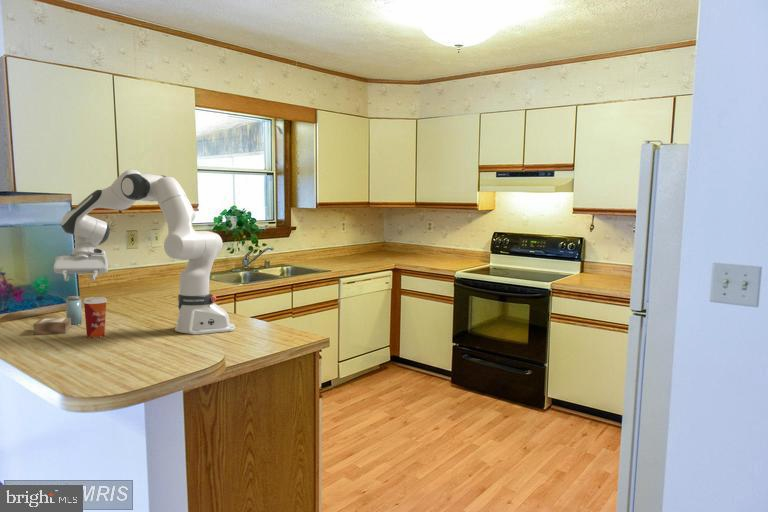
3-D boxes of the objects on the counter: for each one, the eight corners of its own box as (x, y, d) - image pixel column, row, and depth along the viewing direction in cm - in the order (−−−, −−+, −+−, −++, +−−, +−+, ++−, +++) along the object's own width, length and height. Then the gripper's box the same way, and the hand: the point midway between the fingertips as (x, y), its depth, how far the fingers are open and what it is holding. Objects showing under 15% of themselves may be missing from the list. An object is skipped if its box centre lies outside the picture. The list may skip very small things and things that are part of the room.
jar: (82, 322, 209) (82, 295, 208) (80, 325, 204) (79, 297, 203) (68, 323, 207) (67, 295, 206) (65, 326, 202) (64, 298, 201)
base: (71, 327, 200) (70, 317, 200) (65, 333, 191) (65, 322, 190) (41, 328, 196) (40, 318, 196) (33, 334, 187) (33, 323, 187)
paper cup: (97, 339, 184) (96, 300, 182) (78, 337, 185) (77, 299, 184) (112, 334, 191) (112, 297, 190) (94, 333, 193) (94, 296, 192)
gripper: (54, 249, 218) (49, 275, 210) (108, 250, 226) (105, 275, 217) (57, 259, 223) (52, 284, 214) (110, 259, 230) (107, 284, 222)
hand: (79, 280), depth 216 cm, fingers open, 8 cm apart
